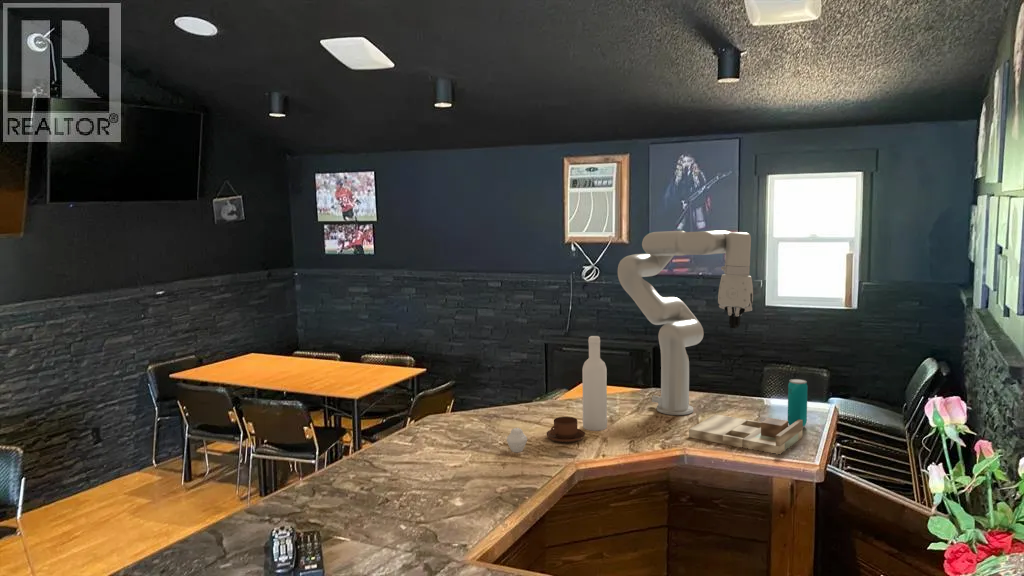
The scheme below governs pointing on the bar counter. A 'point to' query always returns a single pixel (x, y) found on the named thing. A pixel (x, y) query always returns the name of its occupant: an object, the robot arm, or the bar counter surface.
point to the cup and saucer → (565, 430)
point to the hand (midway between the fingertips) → (734, 327)
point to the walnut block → (773, 427)
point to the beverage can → (797, 401)
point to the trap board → (745, 433)
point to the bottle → (594, 388)
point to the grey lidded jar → (516, 440)
